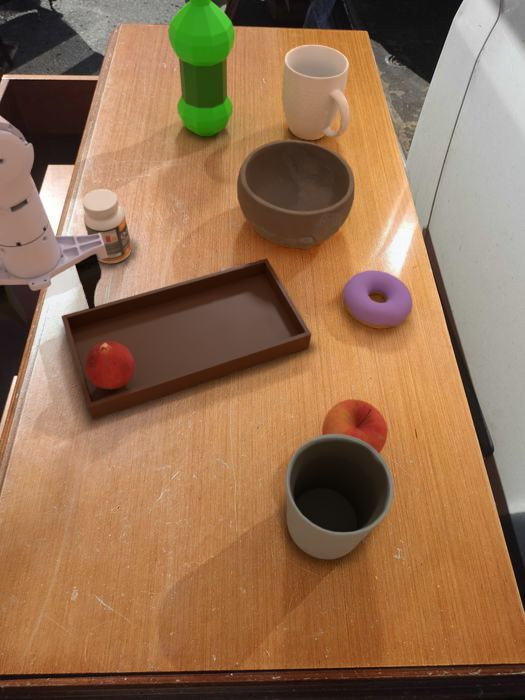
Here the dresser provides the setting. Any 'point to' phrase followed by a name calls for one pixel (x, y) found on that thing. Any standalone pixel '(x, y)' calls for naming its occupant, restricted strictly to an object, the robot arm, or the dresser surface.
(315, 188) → the bowl
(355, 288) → the donut
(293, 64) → the mug
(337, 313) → the dresser surface
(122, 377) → the pomegranate
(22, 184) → the robot arm
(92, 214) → the pill bottle
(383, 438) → the apple
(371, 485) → the gray cup
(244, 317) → the brown dish
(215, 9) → the plastic bottle
